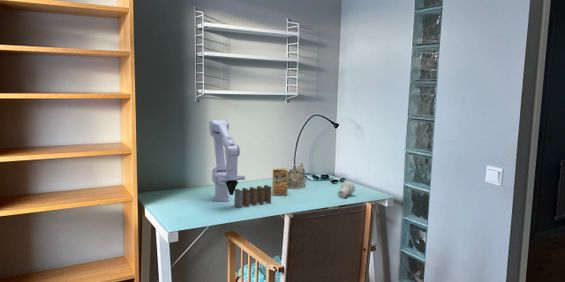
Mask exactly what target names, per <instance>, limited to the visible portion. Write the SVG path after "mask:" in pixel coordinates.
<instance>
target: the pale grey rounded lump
mask: <svg viewBox="0 0 565 282" xmlns="http://www.w3.org/2000/svg"><path fill="white" fill-rule="evenodd" d="M355 191H356V187H355V184H354V183H353V182H351V181H349V180H348V181H344V182H343V183H342V184H341V185H340V190H339V191H338V192H337V196H338V197H339V198H340V197H341V199H344V198H345V197H347V196H351V195H352V194H354V193H355Z"/></svg>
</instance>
